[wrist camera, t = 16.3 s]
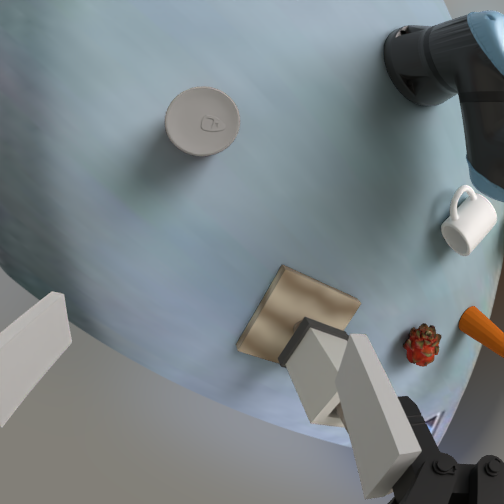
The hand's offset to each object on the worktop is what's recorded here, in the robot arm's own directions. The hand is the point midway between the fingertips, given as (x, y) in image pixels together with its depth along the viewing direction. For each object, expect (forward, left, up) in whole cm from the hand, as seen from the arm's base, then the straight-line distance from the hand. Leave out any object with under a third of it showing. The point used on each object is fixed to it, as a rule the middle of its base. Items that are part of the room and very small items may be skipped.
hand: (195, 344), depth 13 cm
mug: (-49, +3, -33) cm, 59 cm away
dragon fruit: (-44, +31, -33) cm, 63 cm away
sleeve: (-16, +21, -24) cm, 35 cm away
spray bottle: (-64, +31, -33) cm, 78 cm away
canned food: (-2, -11, -33) cm, 35 cm away
